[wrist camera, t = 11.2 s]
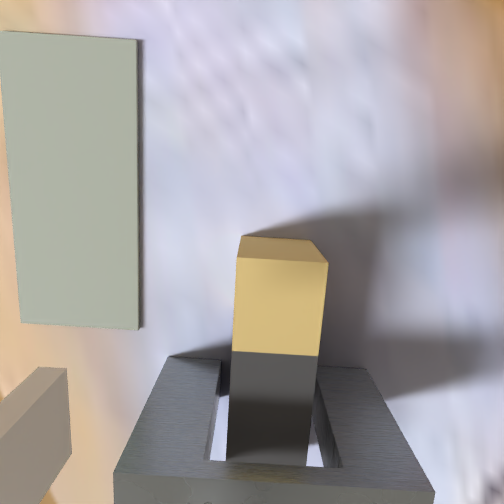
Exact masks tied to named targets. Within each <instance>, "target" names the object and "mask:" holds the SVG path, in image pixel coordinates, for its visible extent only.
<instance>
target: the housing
mask: <svg viewBox="0 0 504 504" xmlns="http://www.w3.org/2000/svg"><path fill="white" fill-rule="evenodd" d="M220 375H221V360H214V359H198V358H182V357H168V358H167V360H166V362H165V364H164V366H163V368H162V370H161V373H160V375H159V377H158V379H157V381H156V383H155V385H154V387H153V389H152V392H151V394H150V396H149V398H148V400H147V402H146V404H145V406H144V409H143V411H142V413H141V415H140V417H139V419H138V421H137V423H136V425H135V428H134V430H133V432H132V434H131V436H130V438H129V440H128V442H127V445H126V447H125V449H124V451H123V453H122V455H121V457H120V459H119V461H118V464H117V466H116V468H115V470H114V472H113V485H114V504H433V501H434V497H435V491H434V489H433V487H432V485H431V484H430V482H429V480H428V478H427V476H426V475H425V473H424V471H423V469H422V467H421V466H420V464H419V462H418V460H417V459H416V457H415V455H414V453H413V451H412V450H411V448H410V446H409V444H408V442H407V441H406V439H405V437H404V435H403V434H402V432H401V430H400V428H399V426H398V425H397V423H396V421H395V419H394V417H393V416H392V414H391V412H390V410H389V409H388V407H387V405H386V403H385V401H384V400H383V398H382V396H381V394H380V392H379V391H378V389H377V387H376V385H375V384H374V382H373V380H372V378H371V376H370V375H369V373H368V371H367V369H359V368H343V367H327V366H317V372H316V381H315V390H314V399H313V408H312V418H313V422H314V426H315V431H316V435H317V439H318V444H319V448H320V452H321V457H322V461H323V465H324V467H311V466H295V465H278V464H262V463H245V462H229V461H213V460H210V453H211V447H212V441H213V435H214V428H215V422H216V416H217V410H218V403H219V396H220Z"/></svg>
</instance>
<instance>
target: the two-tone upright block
mask: <svg viewBox="0 0 504 504" xmlns="http://www.w3.org/2000/svg"><path fill="white" fill-rule="evenodd" d="M328 265H329V263H328V262H327V260H326V259H325V258H324V257H323V255H322V254H321V253H320V252H319V250H318V249H317V248H316V246H315V245H314V244H313V243H312V241H311V240H301V239H285V238H269V237H253V236H241V240H240V245H239V250H238V254H237V263H236V282H235V300H234V319H233V337H232V356H231V374H230V393H229V412H228V430H227V449H226V461H229V462H245V463H262V464H278V465H295V466H306V461H307V452H308V443H309V434H310V426H311V417H312V408H313V399H314V390H315V381H316V372H317V363H318V354H319V345H320V336H321V327H322V318H323V309H324V300H325V291H326V283H327V274H328Z"/></svg>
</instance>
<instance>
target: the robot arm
mask: <svg viewBox="0 0 504 504" xmlns="http://www.w3.org/2000/svg"><path fill="white" fill-rule="evenodd" d="M71 454H72V446H71V430H70V414H69V397H68V381H67V368H51V367H38V368H37V369H36V370H35V371H34V372H33V373H32V374H30V375H29V376H28V377H27V378H26V379H25V380H24V381H23V382H22V383H21V384H20V385H19V386H17V387H16V388H15V389H14V390H13V391H12V392H11V393H10V394H9V395H8V396H7V397H5V398H4V399H3V400H2V401H1V402H0V504H39V503H40V502H41V500H42V499H43V497H44V495H45V494H46V492H47V491H48V489H49V488H50V486H51V485H52V483H53V482H54V480H55V478H56V477H57V475H58V474H59V472H60V471H61V469H62V468H63V466H64V465H65V463H66V461H67V460H68V458H69V457H70V455H71Z"/></svg>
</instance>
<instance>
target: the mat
mask: <svg viewBox="0 0 504 504" xmlns="http://www.w3.org/2000/svg"><path fill="white" fill-rule="evenodd" d="M0 79H1V91H2V103H3V115H4V127H5V139H6V151H7V163H8V175H9V187H10V199H11V211H12V223H13V235H14V247H15V259H16V271H17V283H18V295H19V307H20V319H21V323H28V324H44V325H60V326H76V327H92V328H108V329H124V330H139V172H138V41H137V40H132V39H117V38H102V37H86V36H71V35H56V34H41V33H26V32H11V31H0Z"/></svg>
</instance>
